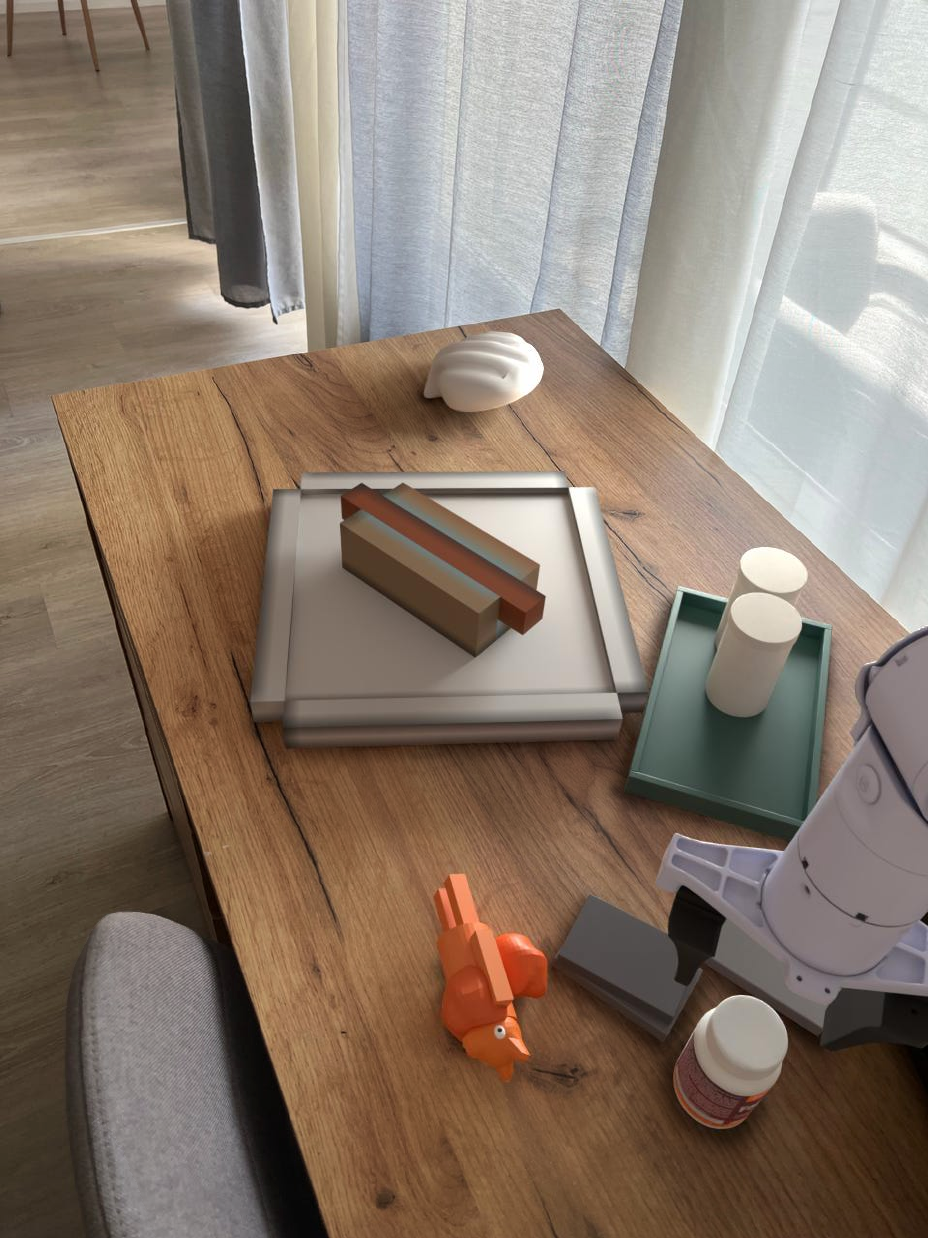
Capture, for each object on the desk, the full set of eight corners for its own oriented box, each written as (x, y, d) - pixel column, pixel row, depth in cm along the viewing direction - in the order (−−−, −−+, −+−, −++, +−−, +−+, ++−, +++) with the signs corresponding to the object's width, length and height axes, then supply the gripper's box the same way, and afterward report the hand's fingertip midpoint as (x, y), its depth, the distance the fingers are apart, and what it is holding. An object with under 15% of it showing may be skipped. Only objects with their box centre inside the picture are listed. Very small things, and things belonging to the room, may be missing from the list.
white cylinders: (765, 726, 75) (799, 651, 68) (699, 707, 76) (726, 631, 69) (778, 633, 82) (810, 556, 75) (718, 617, 83) (744, 540, 76)
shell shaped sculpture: (563, 403, 105) (571, 350, 101) (479, 445, 99) (483, 391, 95) (484, 353, 112) (488, 302, 107) (400, 389, 106) (400, 337, 101)
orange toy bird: (423, 865, 59) (478, 1061, 51) (528, 860, 62) (595, 1043, 54) (398, 908, 62) (445, 1099, 54) (499, 901, 65) (558, 1080, 57)
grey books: (845, 973, 61) (858, 957, 60) (778, 1126, 55) (790, 1112, 53) (631, 842, 67) (637, 824, 66) (546, 966, 61) (551, 949, 59)
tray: (805, 846, 68) (814, 831, 66) (623, 792, 70) (628, 776, 69) (825, 641, 82) (832, 625, 81) (673, 601, 84) (677, 585, 83)
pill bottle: (737, 1148, 54) (779, 1099, 48) (659, 1100, 56) (690, 1046, 49) (764, 1073, 57) (808, 1018, 51) (689, 1029, 58) (723, 971, 52)
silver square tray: (586, 496, 94) (597, 433, 89) (647, 743, 73) (667, 680, 68) (277, 498, 92) (270, 433, 86) (252, 754, 71) (239, 689, 66)
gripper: (676, 869, 38) (601, 1007, 48) (1048, 1027, 36) (889, 1140, 45) (713, 744, 43) (638, 892, 53) (1043, 875, 40) (901, 1006, 50)
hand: (755, 998), depth 49 cm, fingers open, 7 cm apart
